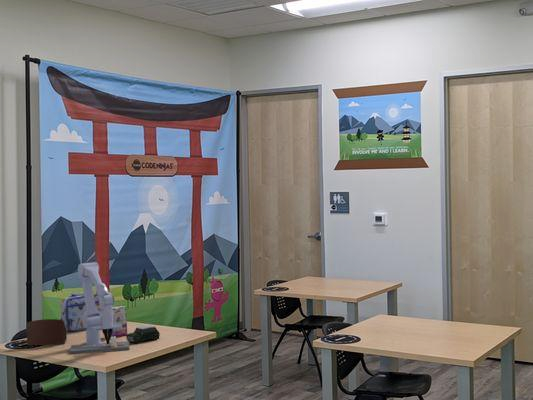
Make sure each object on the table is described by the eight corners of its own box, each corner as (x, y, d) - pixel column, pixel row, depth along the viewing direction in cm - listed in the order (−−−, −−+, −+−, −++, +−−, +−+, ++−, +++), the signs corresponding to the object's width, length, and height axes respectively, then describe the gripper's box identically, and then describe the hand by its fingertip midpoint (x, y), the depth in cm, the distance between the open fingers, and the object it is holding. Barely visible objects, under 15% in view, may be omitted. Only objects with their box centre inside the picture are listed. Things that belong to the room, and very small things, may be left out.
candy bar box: (123, 334, 409) (122, 305, 409) (127, 335, 405) (126, 306, 405) (105, 337, 402) (104, 308, 401) (110, 338, 398) (109, 309, 398)
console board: (71, 348, 375) (71, 345, 375) (129, 344, 381) (129, 341, 381) (69, 354, 362) (69, 350, 362) (129, 349, 367) (129, 346, 367)
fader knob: (111, 344, 373) (111, 336, 373) (115, 343, 373) (115, 336, 373) (111, 346, 368) (110, 338, 368) (115, 345, 369) (115, 337, 369)
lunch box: (66, 334, 414) (65, 296, 414) (58, 331, 422) (56, 294, 422) (108, 326, 433) (106, 290, 432) (99, 324, 440) (98, 289, 440)
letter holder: (64, 344, 387) (64, 318, 386) (26, 346, 383) (26, 320, 383) (66, 340, 397) (66, 315, 396) (29, 342, 393) (29, 317, 393)
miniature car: (124, 342, 387) (124, 327, 387) (153, 337, 399) (152, 323, 398) (133, 344, 380) (132, 330, 380) (161, 339, 392) (161, 324, 392)
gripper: (92, 319, 365) (93, 346, 365) (121, 318, 367) (122, 344, 368) (93, 317, 372) (94, 343, 372) (121, 315, 374) (122, 341, 375)
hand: (108, 343), depth 370 cm, fingers closed
